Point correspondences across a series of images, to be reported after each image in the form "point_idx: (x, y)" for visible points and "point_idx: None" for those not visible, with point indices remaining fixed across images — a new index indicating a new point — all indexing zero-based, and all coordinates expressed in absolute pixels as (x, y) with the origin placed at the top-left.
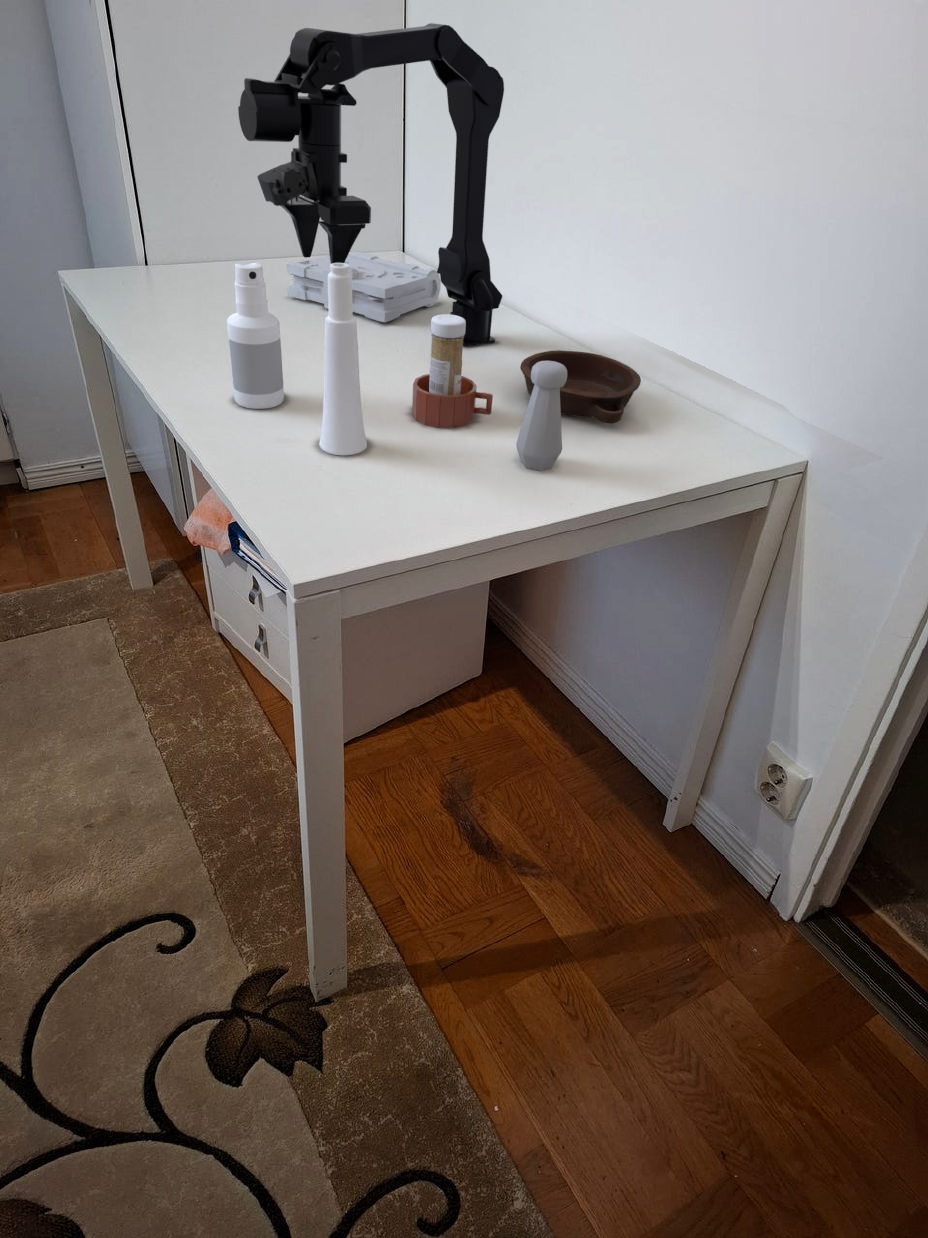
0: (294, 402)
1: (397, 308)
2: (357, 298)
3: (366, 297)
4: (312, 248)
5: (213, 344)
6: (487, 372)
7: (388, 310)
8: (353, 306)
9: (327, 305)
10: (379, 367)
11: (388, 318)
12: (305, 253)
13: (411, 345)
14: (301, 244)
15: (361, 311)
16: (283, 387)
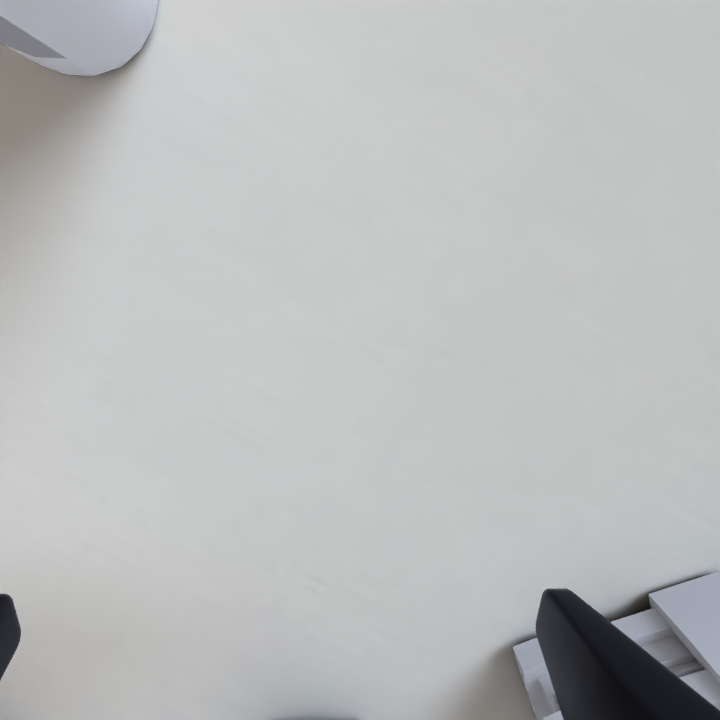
0: (19, 94)
1: (537, 713)
2: None
3: None
4: (562, 714)
5: (655, 102)
6: (86, 685)
7: (536, 688)
8: (636, 630)
9: (712, 581)
10: (219, 481)
11: (518, 665)
12: (557, 621)
13: (339, 626)
14: (617, 673)
15: None
16: (8, 47)
